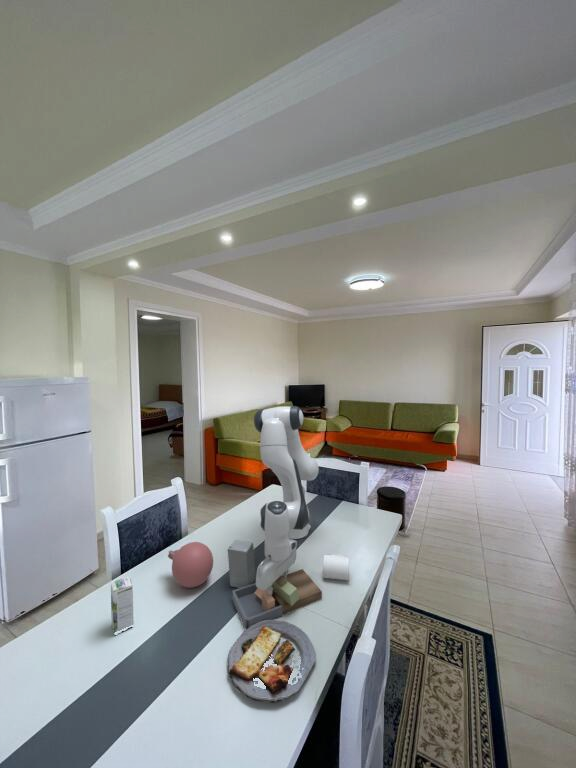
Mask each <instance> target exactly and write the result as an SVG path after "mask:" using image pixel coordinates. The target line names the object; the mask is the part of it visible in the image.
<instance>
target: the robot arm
mask: <svg viewBox="0 0 576 768" xmlns="http://www.w3.org/2000/svg"><path fill="white" fill-rule="evenodd" d="M303 423H304V414H303V411H302V409H301V408H300V407H299V406H296V405H291V406H285V405H284V406H276V407H269V408H261V409H259V410H257V411H256V412H255V414H254V416H253V425H254V428H255V430H256V431H257V432H258V433H260V439H259V441H260V442H259V443H260V444H259V450H260V451H259V452H260V454H259V455H260V460H261V462H262V464H263V465H264V466H266V467H267V468H269V469H270V470H271V471H272V472H273V473H274V474H275V475H276V477H277V479H278V480H279V482H280V485H281V487H282V488H281V489H282V501H280V500H274V501H271V502H267V503H265V504H264V505H263V506H262V507H261V508H260V527H261V529H262V530H263V531H264V532H265V538H264V559H263V560H261V561H260V563H259V565H258V567H257V569H256V573H255V577H256V579H255V583H256V587H257V588H258V589H260V590H263V591H265V590H266V589H267V593H268V594H269V595H272V594H273V593H274V588H272V587H271V586H272V584H273V583H274V582H275V581H276V580H277V579H278V578H279V577H280V576H282V577H283V578H285V579H286V576H287V574H289V573H288V572H289V569H290V568H291V567H292V566H293V565H294V564H295V562H296V559H297V546H298V542H297V539H302V538H304V537H306V536H308V534H309V532H310V531H309V530H310V529H311V527H312V526H311V524H309V523H310V522H309V521H310V511H309V507H308V505H307V503H306V502H307V501H306V488H305V487H304V485H302V484H303V483H302V481H306V482H307V481H309V482H310V481H314V480H315V479H316V478H317V477H318V475H319V471H320V469H319V464H318V462H317V461H316V460H315V459H313V458H312V457H311V456H310V455H309V453H307V451H306V450H305V448H304V447H303V444H302V442H301V437H300V434H299V430H300V429H301V428H302V427H303Z"/></svg>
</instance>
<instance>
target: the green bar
mask: <svg viewBox="0 0 576 768" xmlns="http://www.w3.org/2000/svg"><path fill="white" fill-rule="evenodd" d="M271 587H272V588H274V592H275V593H276V594H278V595H279V596H280V597H281V598H282V599H284V600H285V601H286V602H287V603H288V604H289V605H291V606H292V605H293V604H294V603H295V602H296V601H297V600H298V599H299V597H298V592H297V588H296V587H294V586H293V585H292V584H290V583H289V582H288V581H287V580H286V579H285V578H283V577H282V576H280V577H279V578H278V579H277V580H276V581H275V582H274V583H273V584H272V586H271Z"/></svg>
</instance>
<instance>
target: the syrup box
mask: <svg viewBox="0 0 576 768" xmlns="http://www.w3.org/2000/svg"><path fill="white" fill-rule="evenodd" d="M110 609H111V611H110V613H111V627H112V626H113V629H112V631H113V630H114V633H115V632H117V631H120V630H122V629H124V628H126V627H129V626H131V625H133V624H134V623H135V622H134V590H133V583H132V579H131V577H130V576H124V577H122V578H118V579H117V580H114V581H112V582H110ZM114 633H113V634H114Z"/></svg>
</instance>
